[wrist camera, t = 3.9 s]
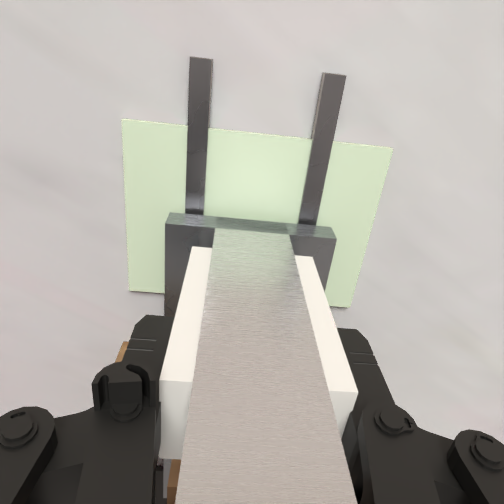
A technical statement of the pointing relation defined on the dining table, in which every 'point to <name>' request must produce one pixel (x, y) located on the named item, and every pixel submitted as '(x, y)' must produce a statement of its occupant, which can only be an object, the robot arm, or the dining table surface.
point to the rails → (199, 139)
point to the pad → (247, 193)
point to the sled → (255, 368)
